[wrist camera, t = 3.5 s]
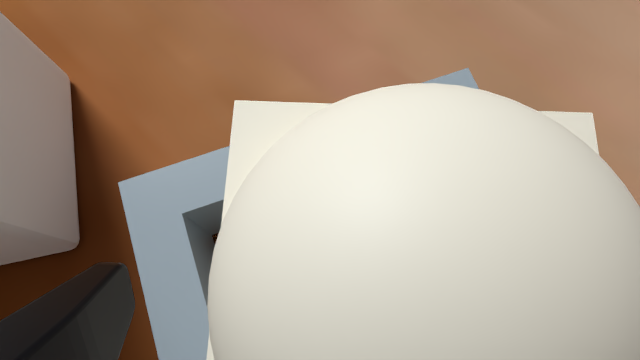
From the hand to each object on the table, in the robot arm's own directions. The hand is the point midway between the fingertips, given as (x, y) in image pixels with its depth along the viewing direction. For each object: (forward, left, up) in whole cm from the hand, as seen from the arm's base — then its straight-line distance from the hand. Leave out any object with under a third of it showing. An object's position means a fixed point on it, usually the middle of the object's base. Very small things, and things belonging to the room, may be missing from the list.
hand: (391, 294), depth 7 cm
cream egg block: (0, 0, -8) cm, 8 cm away
